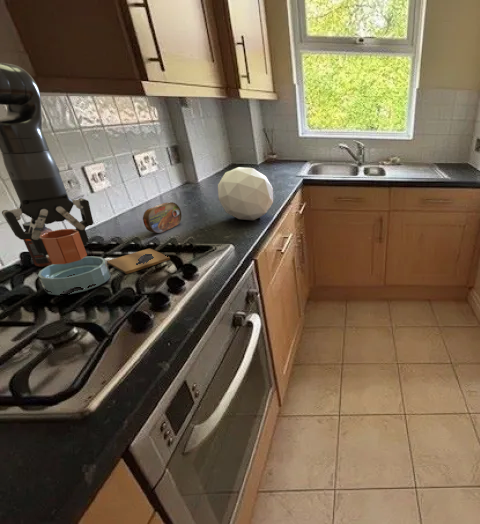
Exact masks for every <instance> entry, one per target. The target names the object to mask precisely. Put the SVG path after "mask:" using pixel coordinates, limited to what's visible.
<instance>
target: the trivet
mask: <svg viewBox="0 0 480 524" xmlns="http://www.w3.org/2000/svg"><path fill="white" fill-rule="evenodd" d="M145 254H152V256H153V257H154V258H153V259H151V260H149V261H148V262H147V263H146V262H145V263H144V264H143V263H141V264H138V265H136V263H138V262H139V261H138V259H139V258H140V257H141V256H143V255H145ZM165 255H166V254H165V253H164V254H163V253H161V252H159V251H157V250H155V249H153V248H146V249H142V250H139V251H135V252H132V253H129V254H125V255H122V256H117V257H115V258H112V259H108V260H106V263H107V265H108V266H111V267H113V268H114V269H116V270H118V271H120V272H121V273H124V274H125V275H128V274H133V273H135V272H138V271H140V270H144V269H147V268H150V267H152V266H156V265H159V264H161V263H164V262H165V263H166V262H168V261H170V260H171V258H170V256H168V255H166V256H165ZM167 256H168V257H167Z"/></svg>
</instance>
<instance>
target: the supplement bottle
mask: <svg viewBox="0 0 480 524" xmlns="http://www.w3.org/2000/svg"><path fill="white" fill-rule="evenodd" d="M30 222H31V221H26V222H24V223H22V224H21V226H22V229H23V230H24V232H29V229H30ZM50 231H53V229H52V228H50V227H47V226H46V224H44V227H43V229H42V230H41V234H40V235H42V234H44V233H47V232H50ZM23 242H24V245H25V248H26V250H27V252H28V253H29V255H30V258H31V260H32V263H33V264H34V266H36V267H39V268H43V267H44V268H45V267H47V266H49V265H52V264H51V263H50V262H48V259H47V257H46V255H42V254H39V253H38V252H37V251H35V249H34V246H33V244H32V242H31V240H30V239H24V240H23Z"/></svg>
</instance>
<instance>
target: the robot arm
mask: <svg viewBox="0 0 480 524" xmlns="http://www.w3.org/2000/svg"><path fill="white" fill-rule="evenodd" d="M0 106H6V115H5V116H4V117H2V118H0V154H1V156H2V160H3V164H4V167H5V171H6V172H7V174H8V177H9V179H10V181H11V184H12V186H13V189H14V191H15V193H16V195H17V196H16V197H18V200H19V203H20V204H19V207H18V208H14V209H10V210H8V209H4V210H2V211H1V214H2V216H3V218H4V220H5V221H6V223H7V224H8V227H10V229H11V231H12V233H13V234H14V235H15V237H17V238H18V239H19V240H21V241H24V239H30V240H31V242H32V244H33V246H34V249H35V251H37V252H38V253H39V254H42V255H48V253H47V251H46V248H45V246H44V244H43V241H42V239H40V238H39V237H40V234H41V230H42V229H43V227H44V224H45V225H50V224H53V223H55V222H56V223H57V222H58V223H59V222H65V221H66V222H68V223H69V224H70V225H72V226H73V227H74V229H75V230H77V231H79V234H80V237H81V239H82V242H83V245H84V247H85V246H87V245H88V243H89V241H90V240H89V236H88V233H87V231H86V228H88V227H90V226H92V225H94V220H93V215H92V211H91V206H90V205H91V204H90V202H89V200H88V199H86V198H83V197H80V198H79V197H78V199H71V198H70V197H69V195H68V192H67V190H66V187H65V185H64V181H63V179H62V176H61V173H60V169H59V167H58V165H57V162H56V160H55V158H54V156H53V155H52V152H51V151H50V148H49V145H48V142H47V139H46V137H45V134H44V131H43V116H42V115H43V114H42V98H41V92H40V88H39V86H38V84H37V82H36V81H35V79H34V78H33V77H32V75H30V73H29V72H28V71H26V70H25V69H24V68H23V67H21V66H18V65H17V64H13V63H5V62H0ZM74 206H75V207H76V209H78V210H79V212H80V217H81V221H79V220H78V219H77V218H76V217H74V215H72V214H71V211H72V209H73V207H74ZM22 214H23V215H25V216H27V217H29V218H30V221H29V222H30V229H29V232H25V230H24V228H23V226H22V225H21V224H20V222H19V221H20V220H21V219H22V217H21V216H22Z"/></svg>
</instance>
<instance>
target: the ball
mask: <svg viewBox="0 0 480 524" xmlns="http://www.w3.org/2000/svg"><path fill="white" fill-rule="evenodd" d="M217 194H218V201H219V203H220V204H221V206H222V208H223V210H224V212H225V213H226V214H228V215H230V216H232V217H234V218H236V219H238V220H245V221H255V220H257V219H259V218H261V217H263V216H264V215H267V213H268V211H269V209H270V208H271V207H272V205H273V204H274V188H273V185H272V183H270V181H269V179H268V177H267V176H266V175H265V174H263V173H262V172H260V171H258V170H257V169H255V168H253V167H243V166H238V167H235V168H232V169H230V170H227V171H225V172H224V174H223V175H222V177H221V179H220V181H219V182H218V183H217Z"/></svg>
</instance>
